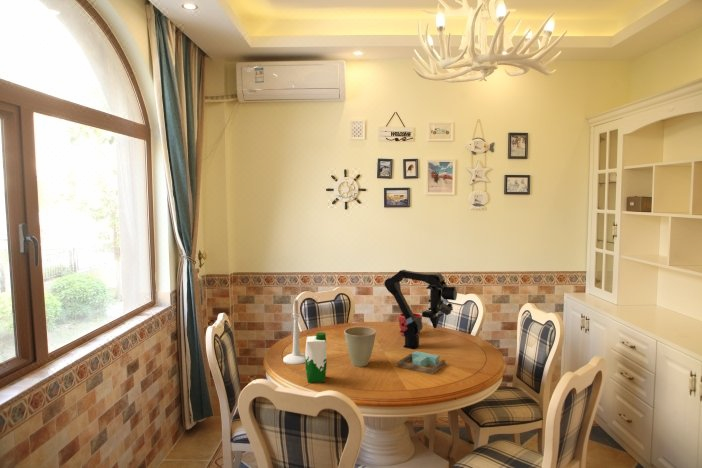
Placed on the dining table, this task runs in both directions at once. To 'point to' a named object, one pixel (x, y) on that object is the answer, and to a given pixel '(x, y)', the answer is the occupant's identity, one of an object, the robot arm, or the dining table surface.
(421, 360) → the tee
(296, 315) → the candlestick
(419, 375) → the dining table surface
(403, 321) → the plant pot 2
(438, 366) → the dock
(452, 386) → the dining table surface
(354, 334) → the plant pot
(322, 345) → the milk carton
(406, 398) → the dining table surface
